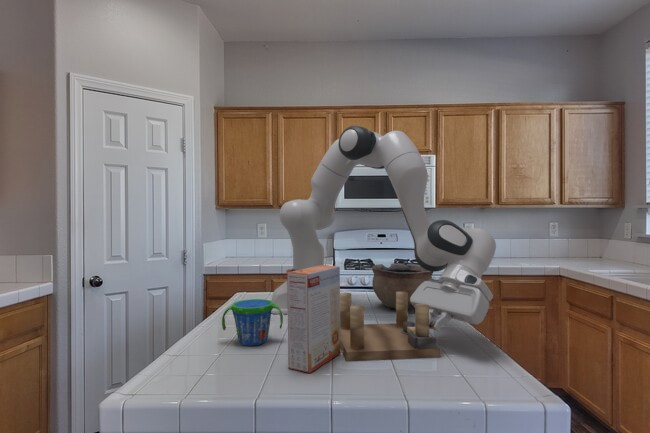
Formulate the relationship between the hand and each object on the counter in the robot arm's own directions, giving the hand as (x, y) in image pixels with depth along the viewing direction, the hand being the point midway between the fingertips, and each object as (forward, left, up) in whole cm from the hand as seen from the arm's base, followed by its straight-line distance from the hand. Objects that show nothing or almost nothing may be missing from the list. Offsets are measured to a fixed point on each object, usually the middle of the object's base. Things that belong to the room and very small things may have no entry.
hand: (431, 328), depth 90 cm
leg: (-2, +5, -3) cm, 6 cm away
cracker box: (-28, -2, -6) cm, 29 cm away
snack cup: (-43, +13, -6) cm, 45 cm away
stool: (-10, +8, -6) cm, 14 cm away
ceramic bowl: (+8, +46, -6) cm, 47 cm away
